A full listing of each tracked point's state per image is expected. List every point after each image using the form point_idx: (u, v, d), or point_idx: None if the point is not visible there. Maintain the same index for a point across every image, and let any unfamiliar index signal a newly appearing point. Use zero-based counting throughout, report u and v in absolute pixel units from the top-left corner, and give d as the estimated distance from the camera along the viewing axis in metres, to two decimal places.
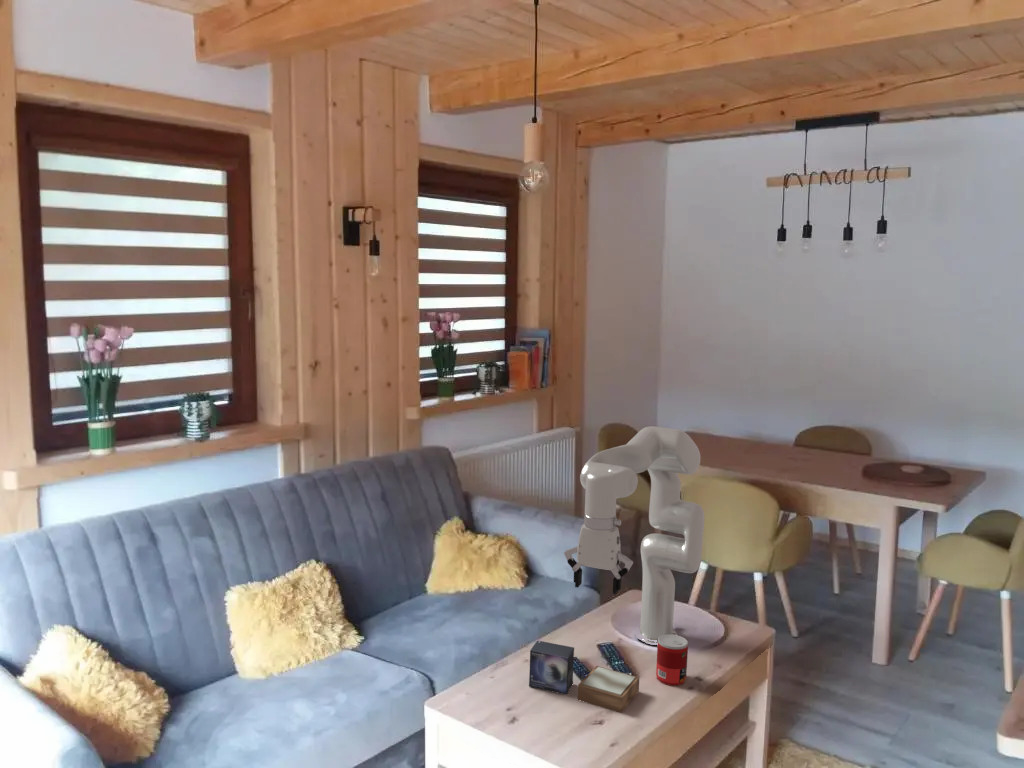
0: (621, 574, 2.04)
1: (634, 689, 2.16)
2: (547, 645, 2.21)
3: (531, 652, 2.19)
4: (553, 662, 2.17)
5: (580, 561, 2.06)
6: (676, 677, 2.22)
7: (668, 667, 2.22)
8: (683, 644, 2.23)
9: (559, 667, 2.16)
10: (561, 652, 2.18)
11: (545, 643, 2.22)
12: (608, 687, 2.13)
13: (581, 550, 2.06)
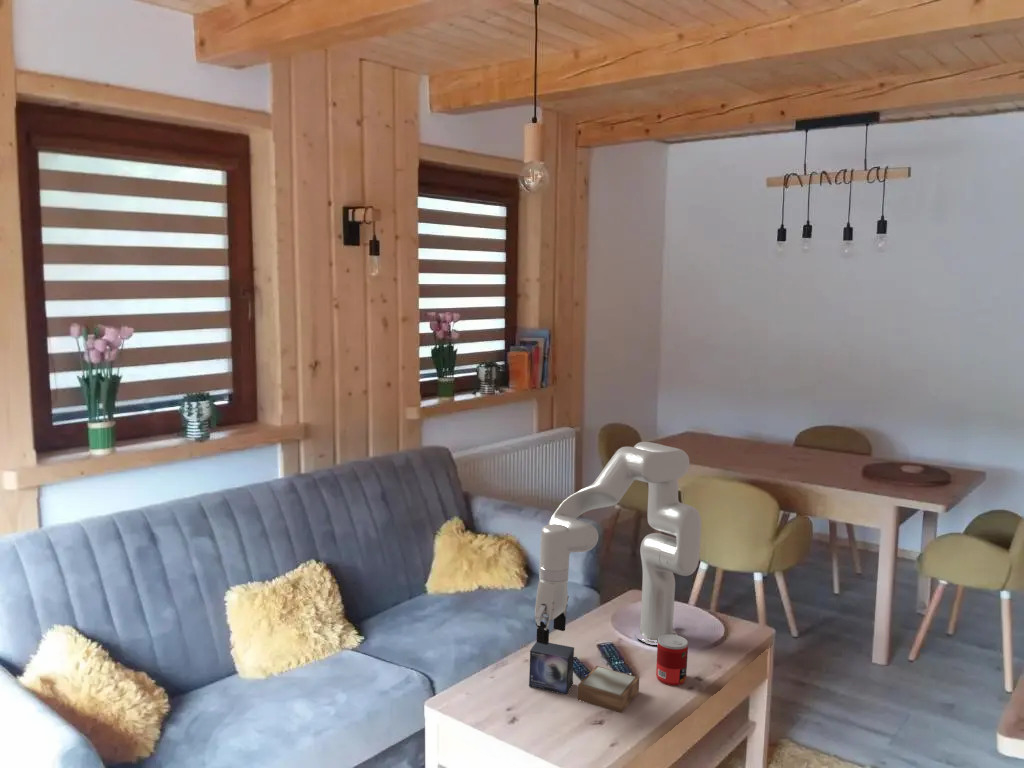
0: (565, 610, 2.23)
1: (634, 689, 2.16)
2: (547, 646, 2.21)
3: (531, 652, 2.19)
4: (553, 662, 2.17)
5: (552, 617, 2.14)
6: (676, 677, 2.22)
7: (668, 666, 2.22)
8: (683, 644, 2.23)
9: (559, 667, 2.16)
10: (561, 652, 2.18)
11: None
12: (608, 687, 2.13)
13: (553, 606, 2.13)
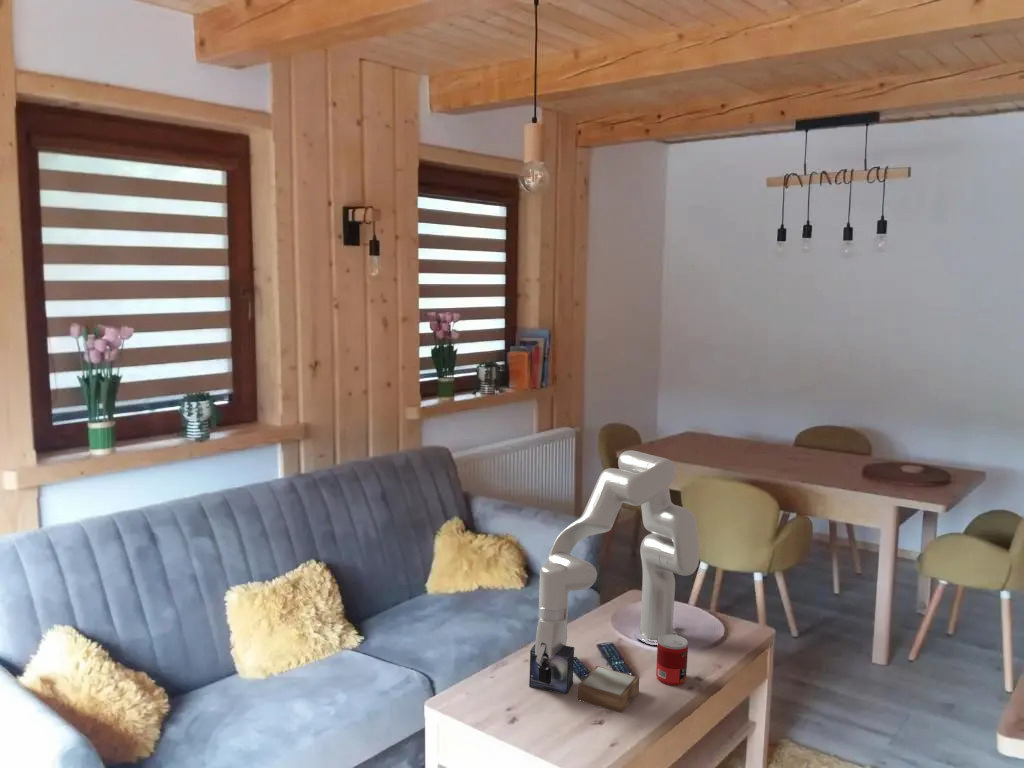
0: None
1: (634, 689, 2.16)
2: None
3: (531, 652, 2.19)
4: (553, 662, 2.17)
5: (552, 655, 2.15)
6: (676, 677, 2.22)
7: (668, 666, 2.22)
8: (683, 644, 2.23)
9: (559, 667, 2.16)
10: (561, 652, 2.18)
11: None
12: (608, 687, 2.13)
13: (553, 644, 2.15)
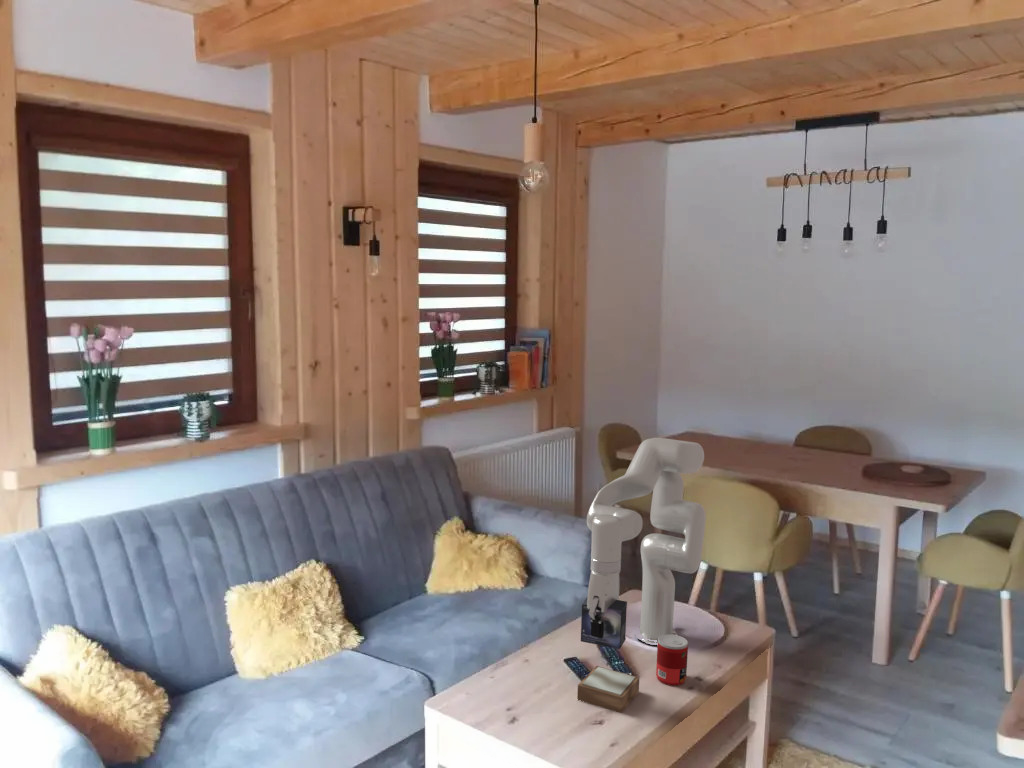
0: None
1: (634, 689, 2.16)
2: None
3: (583, 606, 2.13)
4: (606, 616, 2.11)
5: (605, 609, 2.10)
6: (676, 677, 2.22)
7: (668, 667, 2.22)
8: (683, 644, 2.23)
9: (612, 621, 2.10)
10: (614, 606, 2.12)
11: None
12: (608, 687, 2.13)
13: (606, 598, 2.09)
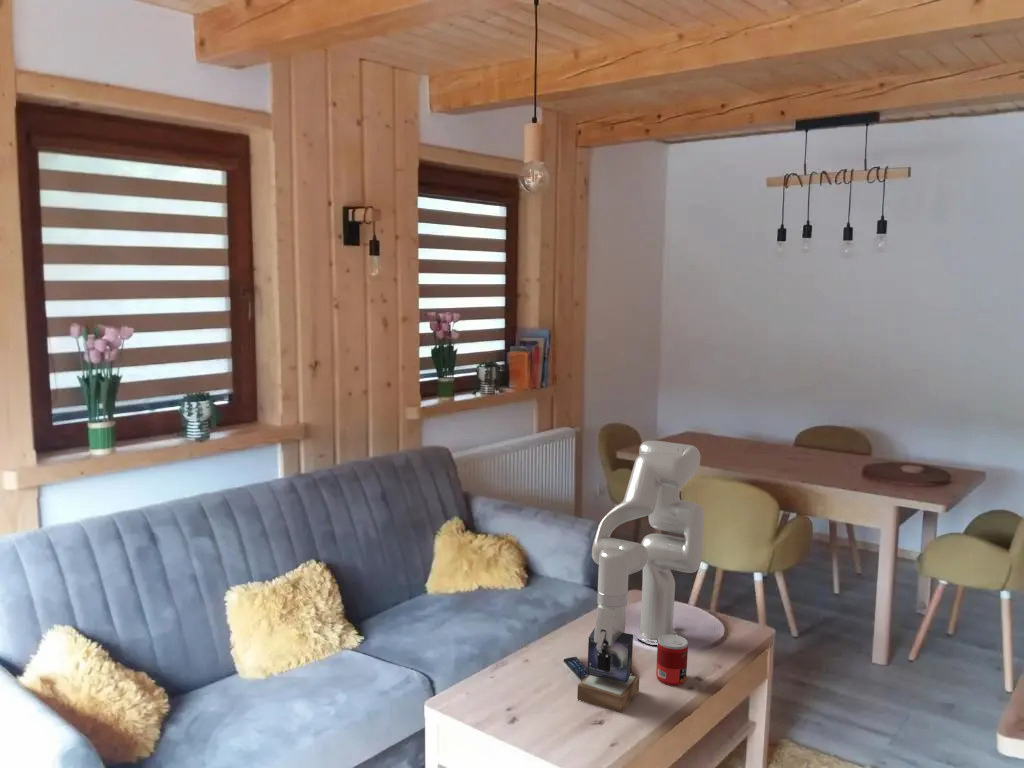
0: None
1: (634, 689, 2.16)
2: None
3: (590, 639, 2.13)
4: (613, 649, 2.11)
5: (612, 642, 2.10)
6: (676, 677, 2.22)
7: (668, 667, 2.22)
8: (683, 644, 2.23)
9: (619, 655, 2.11)
10: (621, 639, 2.12)
11: None
12: (608, 687, 2.13)
13: (613, 631, 2.10)
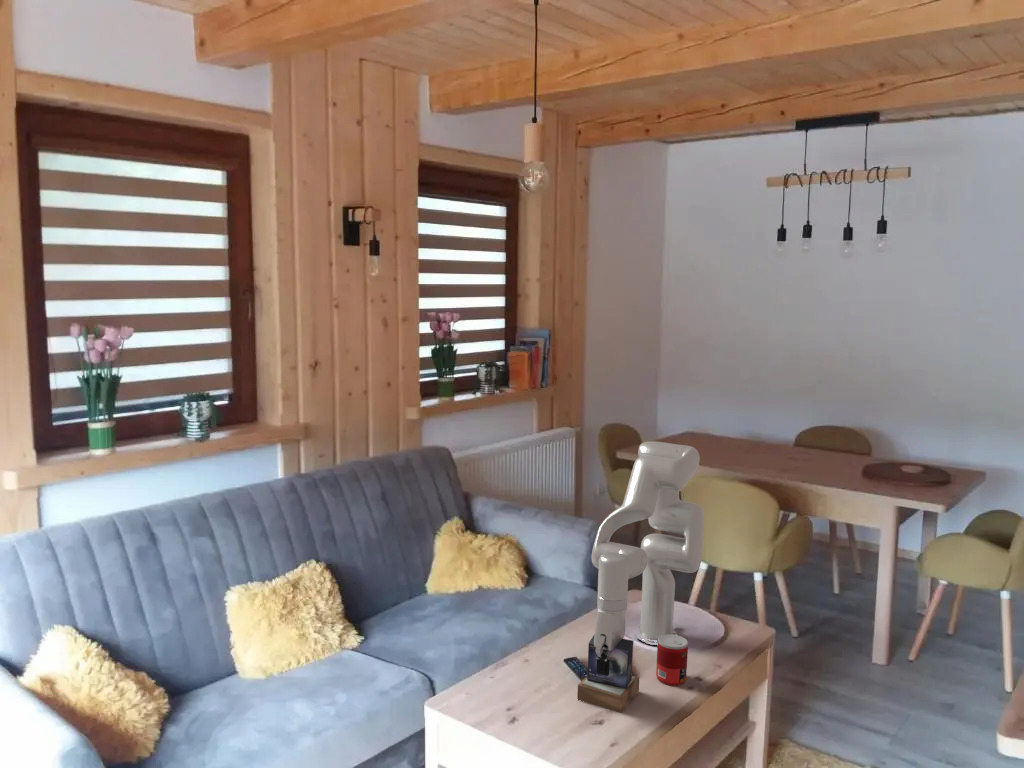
0: None
1: (634, 689, 2.16)
2: None
3: (590, 645, 2.14)
4: (613, 655, 2.12)
5: (612, 647, 2.10)
6: (676, 677, 2.22)
7: (668, 667, 2.22)
8: (683, 644, 2.23)
9: (619, 661, 2.11)
10: (621, 646, 2.12)
11: None
12: (608, 687, 2.13)
13: (613, 636, 2.10)
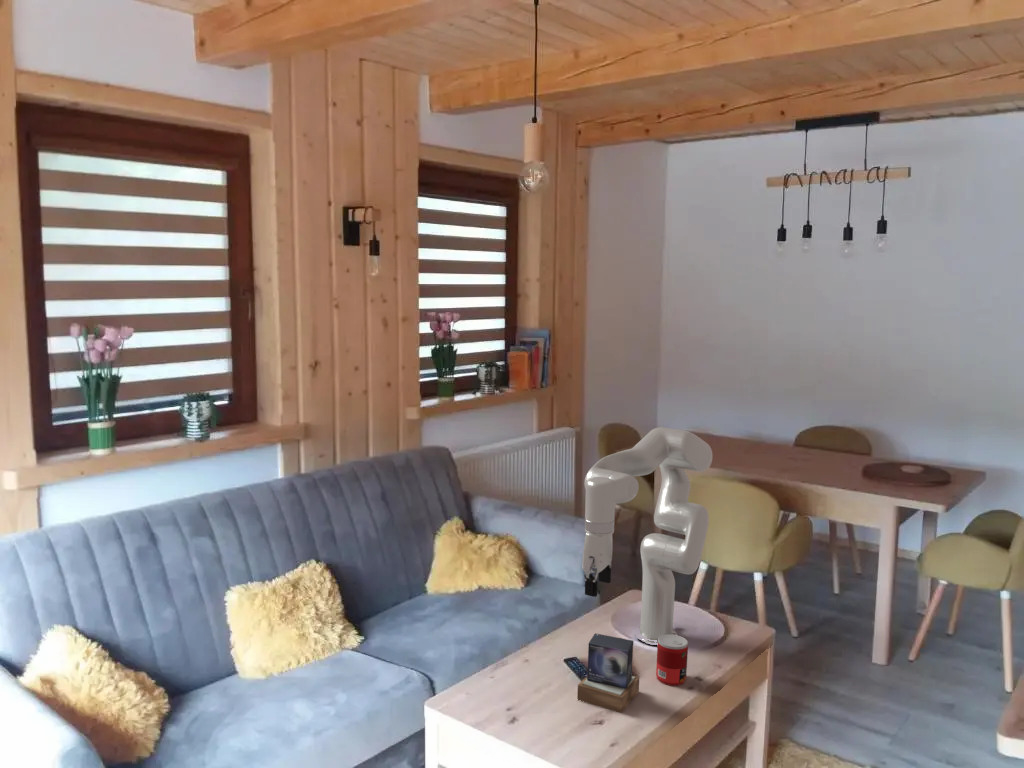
0: None
1: (634, 689, 2.16)
2: (605, 638, 2.16)
3: (590, 645, 2.14)
4: (613, 655, 2.12)
5: (600, 569, 2.14)
6: (676, 677, 2.22)
7: (668, 667, 2.22)
8: (683, 644, 2.23)
9: (619, 661, 2.11)
10: (621, 646, 2.12)
11: (603, 636, 2.18)
12: (608, 687, 2.13)
13: (601, 558, 2.14)
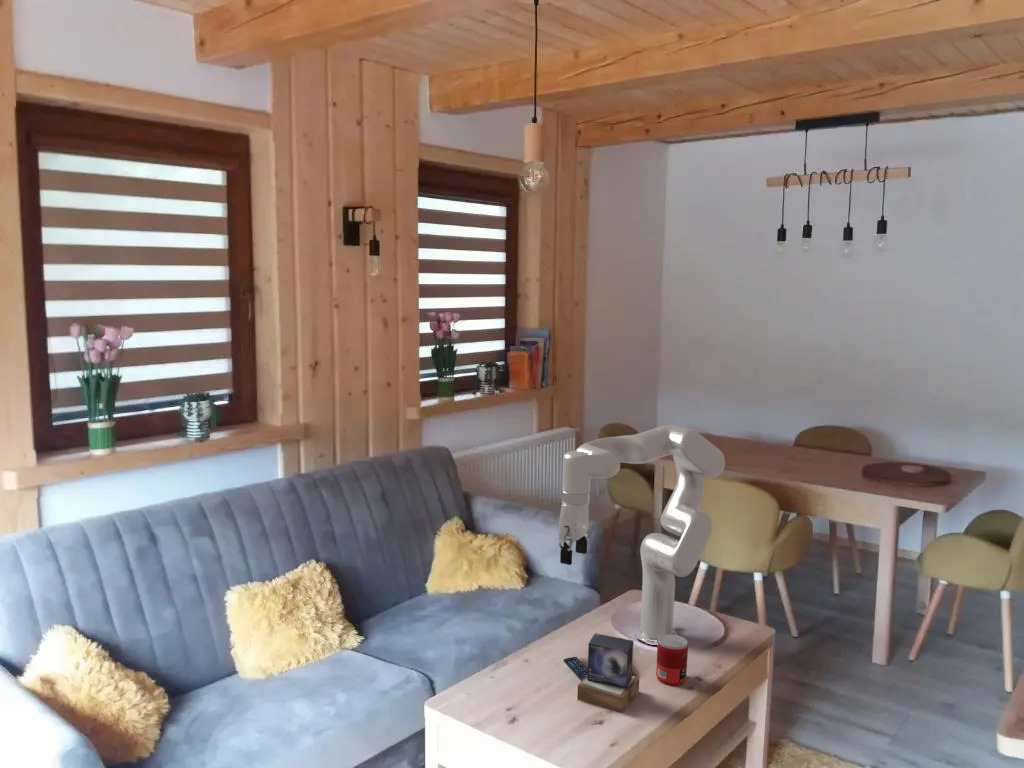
0: (586, 534, 2.34)
1: (634, 689, 2.16)
2: (605, 638, 2.16)
3: (590, 645, 2.14)
4: (613, 655, 2.12)
5: (575, 538, 2.24)
6: (676, 677, 2.22)
7: (668, 667, 2.22)
8: (683, 644, 2.23)
9: (619, 661, 2.11)
10: (621, 646, 2.12)
11: (603, 636, 2.18)
12: (608, 687, 2.13)
13: (576, 527, 2.24)
